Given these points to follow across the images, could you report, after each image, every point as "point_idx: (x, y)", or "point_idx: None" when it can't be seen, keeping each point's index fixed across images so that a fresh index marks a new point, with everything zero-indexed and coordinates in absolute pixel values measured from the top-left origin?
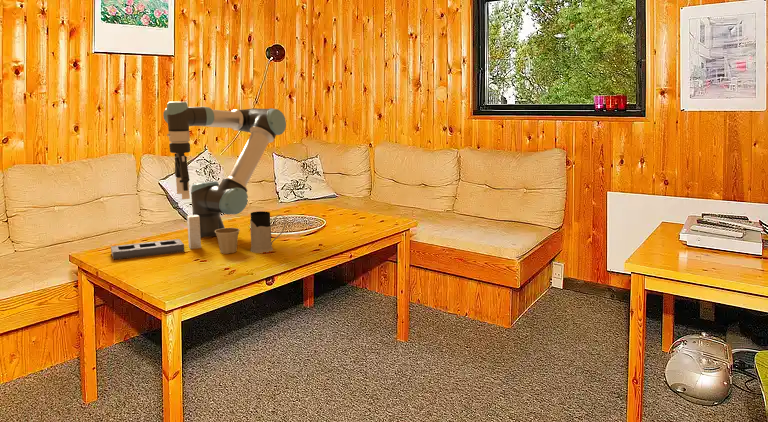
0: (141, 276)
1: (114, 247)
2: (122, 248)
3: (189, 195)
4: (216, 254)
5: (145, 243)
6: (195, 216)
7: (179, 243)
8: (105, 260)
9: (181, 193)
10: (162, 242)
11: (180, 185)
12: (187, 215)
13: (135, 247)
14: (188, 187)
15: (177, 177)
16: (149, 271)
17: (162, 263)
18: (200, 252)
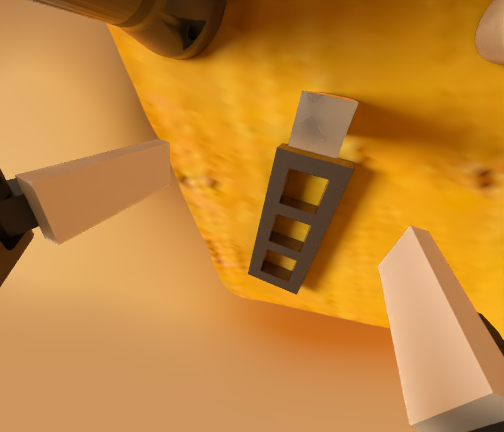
0: None
1: (261, 275)
2: (263, 261)
3: (437, 248)
4: (499, 90)
5: (268, 228)
6: (344, 123)
7: (332, 173)
8: None
9: (168, 161)
10: (280, 196)
11: (120, 183)
12: (290, 143)
13: (289, 257)
14: (473, 320)
15: (31, 224)
16: None
17: None
18: (407, 127)
